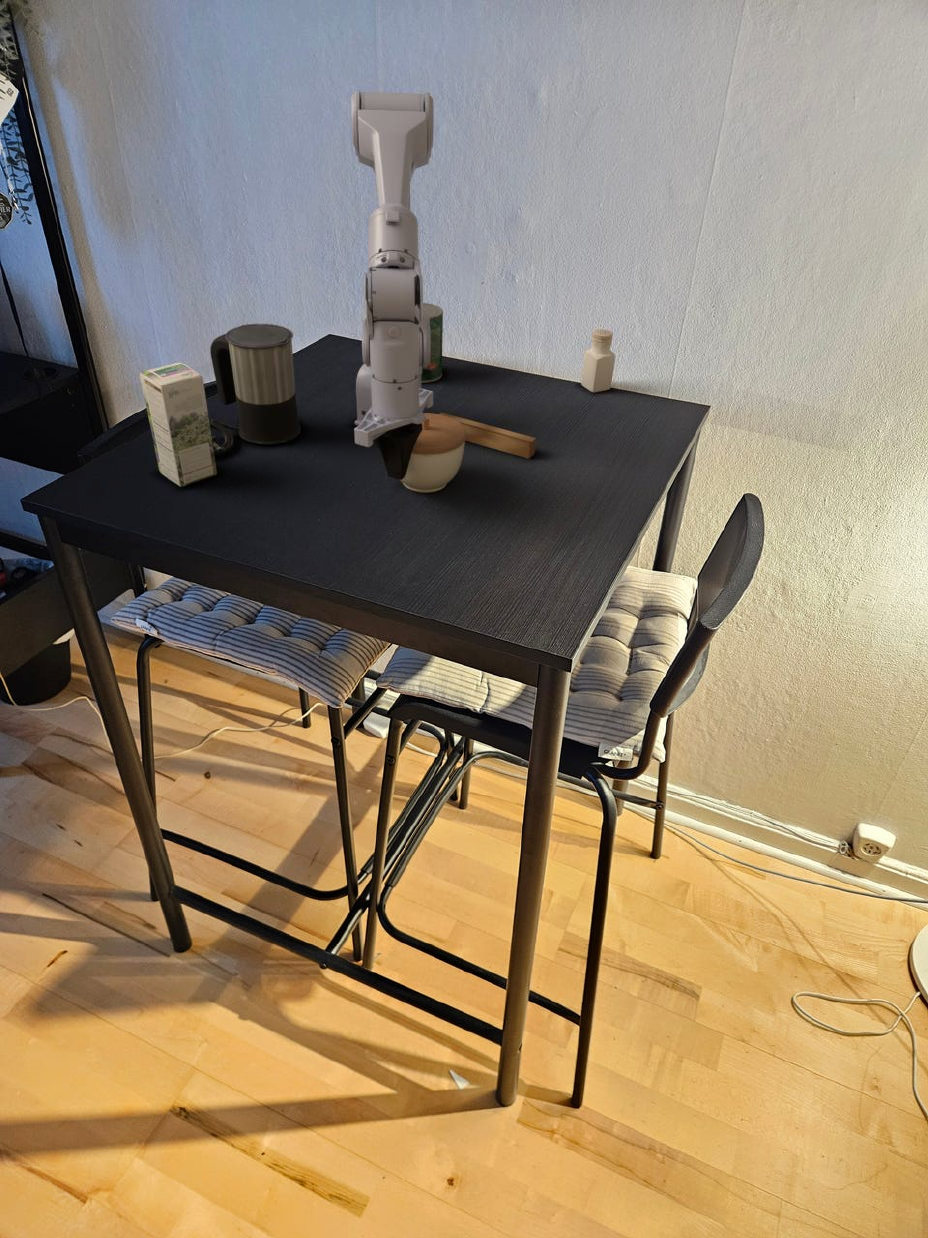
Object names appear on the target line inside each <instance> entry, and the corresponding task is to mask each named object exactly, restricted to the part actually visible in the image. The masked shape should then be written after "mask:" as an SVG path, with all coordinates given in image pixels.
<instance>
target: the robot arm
mask: <svg viewBox="0 0 928 1238" xmlns="http://www.w3.org/2000/svg"><path fill="white" fill-rule="evenodd" d="M350 99H351V100H350V113H351V117H350V119H351V137H352V138H351V139H352V145H353V146H354V152H355V156H356V157H357V159H358V162H359V164H360V163H361V164H363V165H365V166H368V167H369V168H371V169H372V171H373V173H374V176H375V183H376V184H375V185H376V193H377V194H376V195H377V204H378V206H377V208H376V209H375V210H374V211H372V212H371V214H370V215H369V217H368V221H367V234H368V235H367V240H368V241H367V245H368V246H367V272H366V271H365V272H364V276H363V305H364V311H363V312H364V313H363V314H362V318H361V319H362V326H361V350H362V351H361V352H362V353H361V355H362V363H363V365H361V367H359V370H358V372H357V376H356V379H355V395H356V396H355V397H356V416H357V417H356V420H355V421H354V425H355V426H356V427H354V429H353V431H354V444H356V445H359V446H362V447H366V448H370V447H372V446H373V445H374V443H375V444H376V446H377V448H378V450H379V452H380V454H381V457H382V460H383V464H384V467H385V469H386V473H387V476H388V477H390V478H393V479H396V480H398V481H400V480H402V479H403V478H405V476H406V472H407V468H408V464H409V460H410V457H411V453H412V450H413V447H414V445H415V443H416V441H417V439H418V437H419V435H420V433H421V432H422V430H423V425H422V422H424V421H425V420H426V414H425V413H426V412H423V411H425V408H426V409H429V408H431V407H433V406H434V391H432V390H428V389H425V388H422V383H421V374H422V365H423V367H424V368H427V366H428V365H429V364H430V352H431V338H430V319H429V315H428V313H427V310H426V309H424V308H423V303H424V278H423V273H422V268H421V260H420V254H419V253H420V251H419V250H420V249H419V248H420V247H419V221H418V218H417V216H416V215H415V213H414V212H412V211H411V182H412V179H413V177H414V174H415V171H416V170H417V169H418V168H421V167H424V166H427V165H429V163H430V159H431V158H432V150H433V149H434V126H435V125H434V123H435V121H434V119H435V118H434V111H435V110H434V98H433V97H432V95H431V94H430V92H426V91H425V92H424V93H411V92H410V93H409V92H377V91H375V92H374V91H361V90H360V89H355V91H354V93H353V94H352V95H351V98H350Z"/></svg>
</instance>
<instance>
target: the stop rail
mask: <svg viewBox="0 0 928 1238" xmlns="http://www.w3.org/2000/svg"><path fill="white" fill-rule="evenodd" d="M438 414H439V415H444V416H447V417H451V418H453V419H455V420H457V421H459V422H460V423H461V424H462V425H463V426H464V427H465V430H466V438H465V442H468V443H471V444H476V445H478V446H482V447H486V448H490V449H493V450H497V451H499V452H504V453H506V454H510V455H514V456H516V457H517V456H518V457H521V458H524V459H530V458H531V457H533V456H534V455H535V451H536V440H537V438H536V437H533V436H530V435H525V434H522V433H518V432H515V431H511V430H507V429H503V428H500V427H496V426H493V425H489V424H486V423H482V422H478V421H474V420H471V419H467V418H463V417H460V416H456V415H453V414H449V413H445V412H440V413H438Z"/></svg>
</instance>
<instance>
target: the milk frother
mask: <svg viewBox="0 0 928 1238" xmlns="http://www.w3.org/2000/svg"><path fill="white" fill-rule="evenodd" d="M293 337H294V333H293V331H292V330H290V329H289V328H288V327H285V326H282V325H278V324H273V323H249V324H247V323H246V324H242V325H239V326H236V327H233V328H231V329H229V330H228V331H227V332H226V333H223V334H221V335H219V336H217V337H216V338H214V339H213V340H212V342H211V344H210V350H209V352H210V359H211V364H212V368H213V373H214V378H215V383H216V384H215V385H216V389H217V392H218V394H217V395H218V398H219V401H220V403H221V404H223V406H228V405H232V404H234V403H236V408H237V425H238V426H231V425H229V424H226V423H223V422H221V421H220V420H216V419H213V418H209V424H210V429H213V430H214V431H217V432H218V433H220V434H221V435H222V437H223V438H224V443H223V444H221V445H219V444H218V443H216V441H217V436H215V435H213V436H211V437H212V444H213V451H214V456H218V455H222V454H225V453H228V452H229V451H230V450H231V449H232V448H233V447H234V442H235V441H234V440H235V439H234V436H233V434H232V433H231V431H230V430H232V431H233V430H234V431H237V434H238V436H239V437H240V438H241V439H242V440H244V441H245V442H248V443H251V444H255V445H267V446H269V445H270V446H271V445H279V444H283V443H284V444H285V443H287V442H290V441H292V440H294V439H296V438H297V437H298V436H299V435H300V434H301V431H302V428H301V425H300V422H299V415H298V406H297V398H296V397H297V396H296V381H295V367H294V356H293V355H294V354H293V353H294V352H293V341H292V339H293Z"/></svg>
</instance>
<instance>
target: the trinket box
mask: <svg viewBox="0 0 928 1238" xmlns="http://www.w3.org/2000/svg"><path fill="white" fill-rule="evenodd" d="M424 413H425V414H426V420H425V421H424V422H422V425H423V430H422V432H421V433H420V435H419V437H418V439H417V441H416V443H415V445H414V447H413V450H412V453H411V457H410V460H409V464H408V468H407V472H406V476H405V478H403V479H402V480H399V481H400V482H401V483H402V484H403V486H404V487H405V488H406V489H408V490H410V491H412V492H418V493H434V492H438V491H440V490H442V489H444V488H445V487H446V486H447V484H449V483H450V482H451V481H452V480H453V479H454V478H455V477H456V475H457V474H458V473H459V470H460V468H461V466H462V461H463V459H464V454H465V446H466V445H465V443H466V441H465V438H466V430H465V427H464V426H463V425H462V424H461V423H460V422H459V421H457V420H455V419H453V418H451V417H447V416H444V415H439V414H440V413H430V412H424Z"/></svg>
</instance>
